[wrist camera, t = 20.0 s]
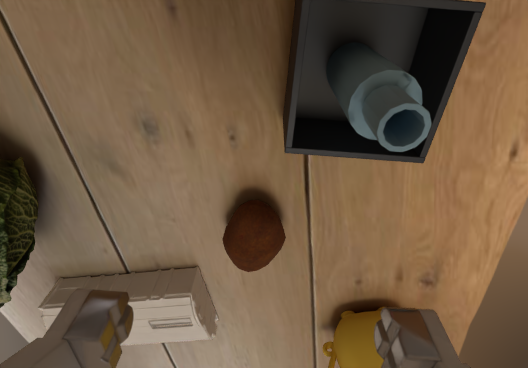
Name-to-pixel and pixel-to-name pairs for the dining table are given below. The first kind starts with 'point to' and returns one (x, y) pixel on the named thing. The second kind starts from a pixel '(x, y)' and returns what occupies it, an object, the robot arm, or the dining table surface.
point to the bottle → (378, 97)
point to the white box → (149, 303)
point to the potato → (253, 236)
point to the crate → (386, 44)
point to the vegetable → (15, 223)
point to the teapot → (355, 341)
